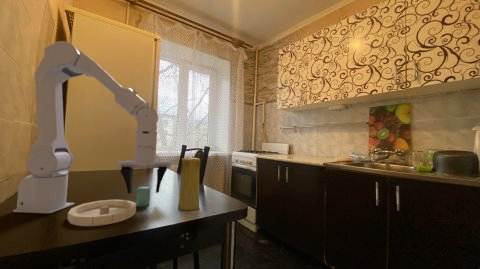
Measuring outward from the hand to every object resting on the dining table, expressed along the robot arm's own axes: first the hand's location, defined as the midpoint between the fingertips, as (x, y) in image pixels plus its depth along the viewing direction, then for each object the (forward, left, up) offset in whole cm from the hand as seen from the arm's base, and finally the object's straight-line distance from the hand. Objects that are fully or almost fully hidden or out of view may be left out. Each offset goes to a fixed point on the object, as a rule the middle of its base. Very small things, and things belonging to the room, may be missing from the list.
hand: (143, 192), depth 63 cm
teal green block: (0, 0, -4) cm, 4 cm away
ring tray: (-5, -10, -4) cm, 12 cm away
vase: (+14, -1, -4) cm, 14 cm away
